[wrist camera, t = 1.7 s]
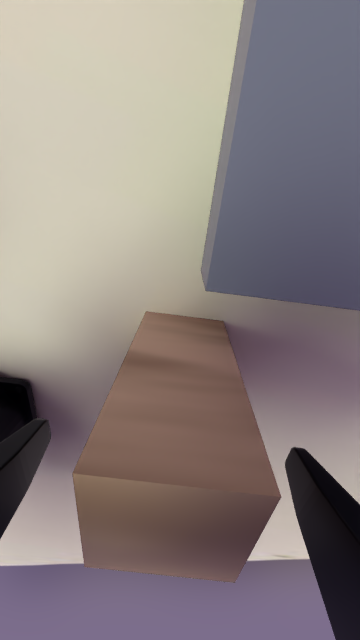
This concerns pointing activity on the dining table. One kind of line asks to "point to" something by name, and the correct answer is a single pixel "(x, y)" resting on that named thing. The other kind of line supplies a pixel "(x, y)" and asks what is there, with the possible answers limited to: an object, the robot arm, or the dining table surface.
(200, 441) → the oak peg
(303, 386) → the dining table surface
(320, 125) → the socket block
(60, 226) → the dining table surface
